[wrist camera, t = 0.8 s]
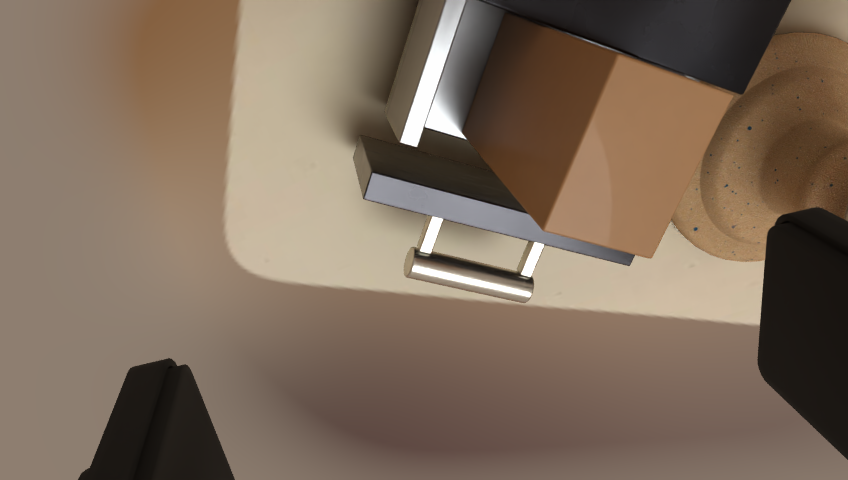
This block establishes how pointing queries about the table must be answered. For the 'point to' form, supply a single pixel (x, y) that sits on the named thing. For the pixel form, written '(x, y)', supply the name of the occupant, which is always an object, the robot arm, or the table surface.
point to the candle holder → (773, 150)
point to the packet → (590, 135)
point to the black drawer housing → (670, 31)
